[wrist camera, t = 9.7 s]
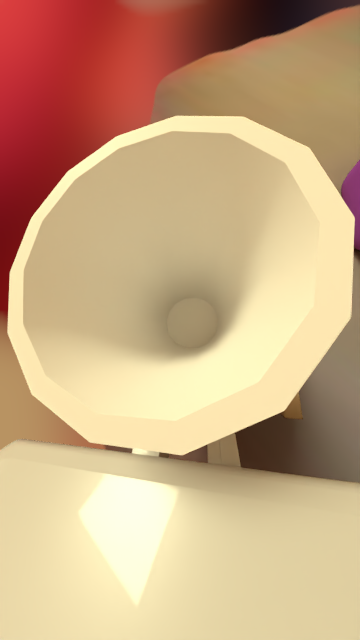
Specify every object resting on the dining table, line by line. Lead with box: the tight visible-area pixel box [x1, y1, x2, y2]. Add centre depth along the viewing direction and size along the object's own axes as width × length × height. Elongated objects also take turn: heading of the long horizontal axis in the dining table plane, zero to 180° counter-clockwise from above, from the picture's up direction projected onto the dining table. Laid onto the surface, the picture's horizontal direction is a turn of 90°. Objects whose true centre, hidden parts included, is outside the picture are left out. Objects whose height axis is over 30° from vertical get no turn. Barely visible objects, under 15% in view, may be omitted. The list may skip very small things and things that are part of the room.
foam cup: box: [8, 116, 355, 455], centre depth 10 cm, size 10×9×13 cm
